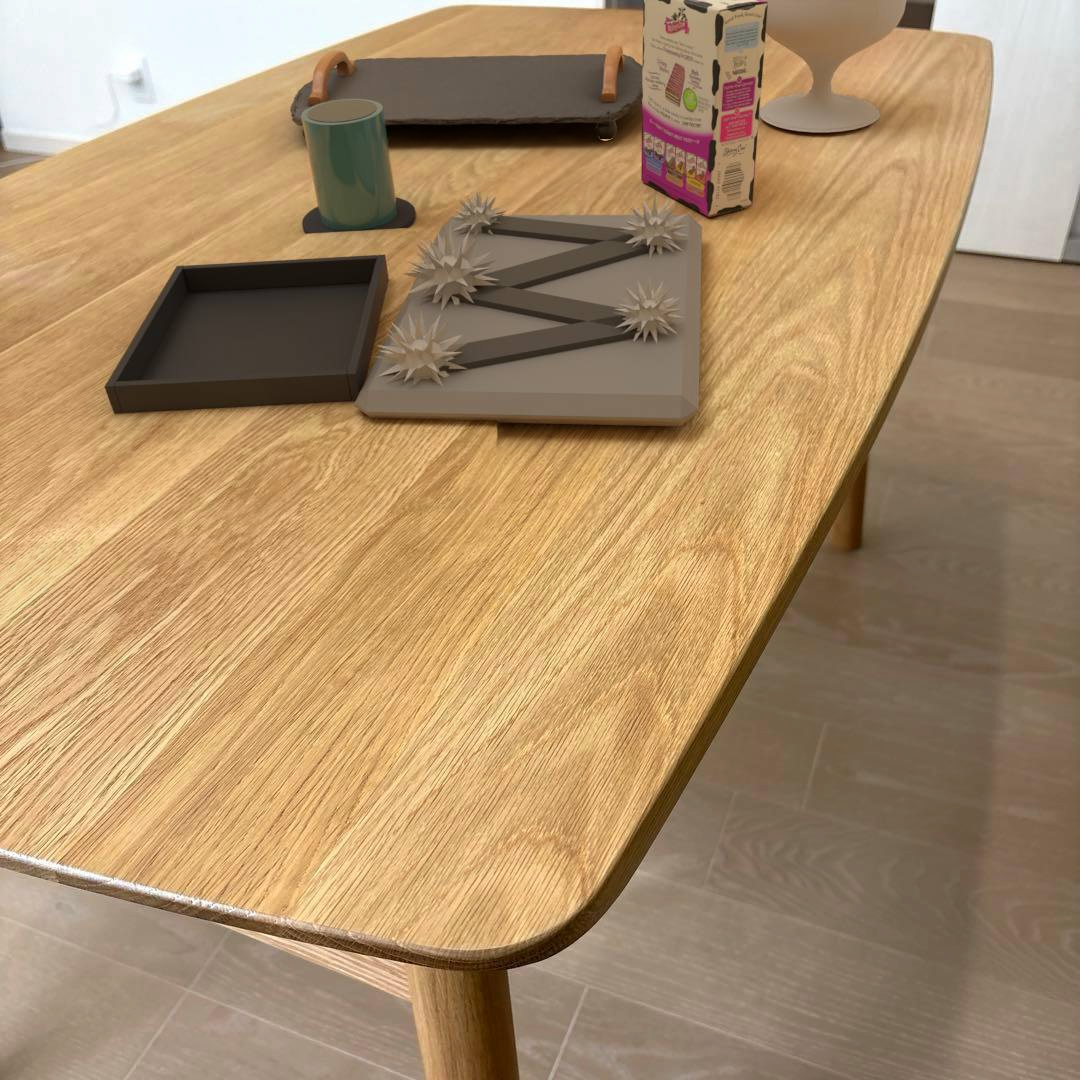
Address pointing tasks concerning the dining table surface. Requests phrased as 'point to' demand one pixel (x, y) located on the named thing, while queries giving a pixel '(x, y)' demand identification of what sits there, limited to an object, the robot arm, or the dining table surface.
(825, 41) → the chalice
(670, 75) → the candy bar box
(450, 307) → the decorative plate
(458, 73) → the serving tray
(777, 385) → the dining table surface
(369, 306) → the tray
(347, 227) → the cup
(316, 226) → the coaster
